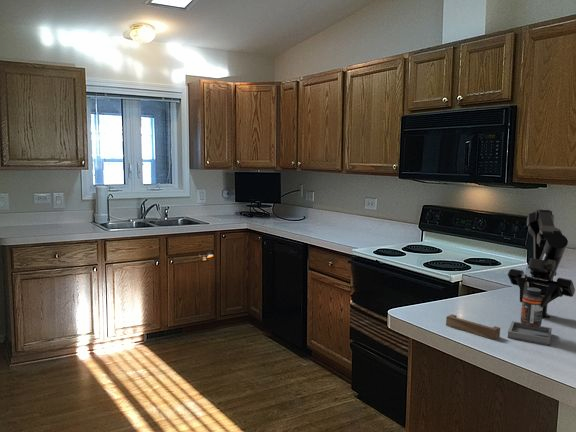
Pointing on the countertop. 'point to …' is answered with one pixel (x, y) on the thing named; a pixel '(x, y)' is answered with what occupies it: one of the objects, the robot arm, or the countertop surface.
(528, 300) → the supplement bottle
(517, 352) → the countertop surface
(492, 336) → the wooden dock
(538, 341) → the grey square tray
